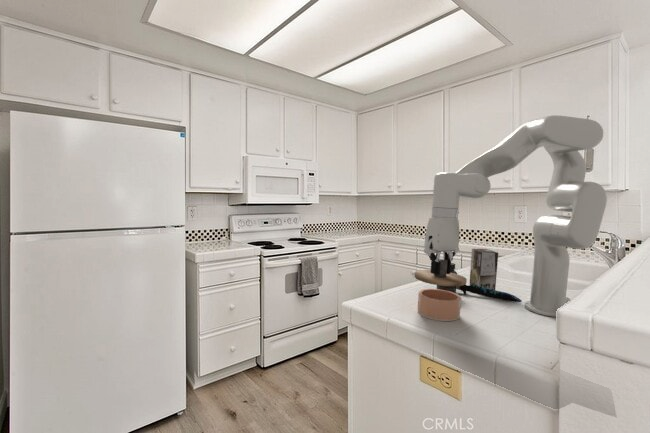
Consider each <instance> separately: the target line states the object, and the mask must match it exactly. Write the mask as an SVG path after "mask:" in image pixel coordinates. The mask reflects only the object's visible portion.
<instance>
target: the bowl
mask: <svg viewBox="0 0 650 433" xmlns="http://www.w3.org/2000/svg"><path fill="white" fill-rule="evenodd" d="M417 295H418V298H417V299H418V300H417V312H418V314H419V315H421V316H422V317H423V318H426V319H430V320H433V321H437V322H454V321H457V320H459V319H460V316H461V305H462V297H461V296H460V295H459V294H458V293H457V292H456V293H453V292H450V291H446V290H440V289H437V288H425V289H421V290H419V291H418V294H417Z"/></svg>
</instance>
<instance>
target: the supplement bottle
mask: <svg viewBox="0 0 650 433" xmlns="http://www.w3.org/2000/svg"><path fill="white" fill-rule="evenodd" d="M450 273H455V274H458V273H457V271H456V264H455V263H454V262H451V269H450ZM456 287H457V286H440V285H436V289H440V290H446V291H450V292H453V293H456V294H457V289H456Z"/></svg>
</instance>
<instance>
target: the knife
mask: <svg viewBox="0 0 650 433" xmlns="http://www.w3.org/2000/svg"><path fill="white" fill-rule="evenodd" d="M469 285H470V284H469ZM469 285H468V284H465V285H463V286H457V287H456V290H459V291H461V292H463V296H465V295H467V292H468V293H472V294H474V295H477V296H483V297H485V298H486V297H487V298H491V299H496V300H499V301H506V302H511V303H522V299H520V298H519V297H518V296H516V295H514V294H511V293H509V292H504V291H499V290H496V289H495V290H491V289H486V288H483V287H480V286H477V285H475V284H474V283H472V285H470V286H469Z"/></svg>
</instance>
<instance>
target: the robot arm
mask: <svg viewBox="0 0 650 433" xmlns="http://www.w3.org/2000/svg"><path fill="white" fill-rule="evenodd" d="M603 138H604V128H603V126H602V125H601V124H600V123H599V122H598V121H596V120H593V119H589V118H582V117H575V116H566V115H554V114H553V115H549V116H544V117H540V118H536V119H532V120H528V121H527V122H525V123H523V124H521V125H520V126H519V127H518V128H516V129H515V130H514V131H513V132H511V133H510V134H509V135H508V136H507V137H505V138H504V139H503V140H502V141H501V142H499V143H498V144H497V145H496V146H495V147H493V148H491V149H489V150H488V151H486V152H484V153H482V154H481V155H479V156H478V157H476V158H475V159H472V160H471V161H469V162H467V163H466V164H465V165H464V166H462V167H461V168H460V169H459V170H457V171H456V172H438V173H436V174H435V175H434V179H433V192H432V194H433V195H432V203H431V204H432V206H431V217H429V219H428V222H427V225H426V226H427V227H426V231H425V236H424V249H423V253H424V254H426V255H427V257H429V260H430V262H431V263H430V270H431V273H433V274H436V275H439V274H440V265H441V263H440V262H439V259H441V253H442V257H443V258H442V259H445V260H448V262H447V274H450V269H451V263H452V262H453V260H454V257H455V256H456V254H457V253H459V252H460V248H459V243H460V223H459V222H460V220H459V214H460V211H459V207H460V199H474V200H475V199H480V198H483V197H485V196H486V195H487V194H488V193H490V190H491V185H492V184H491V180H490V179H489V178H490V177H492V176H495V175H498V174H501V173H506V172H508V171H510V170H512V169H515V168H516V167H517V166H518V165H519V164H521V163H522V162H523V161H524V160H526V159H527V158H528V157H529V156H530V155H531V154H533V153H534V152H535V151H536V150H537V149H540V148H542V147H543V149H544V150H545V151H546V153H547V154H548V155H549V156H550V158H551V160H552V163H553V171H552V175H551V179H550V183H549V186H548V190H547V194H546V200H545V202H546V205H547V207H548V208H549V209H551V210H553V211H556V212H563V213H571V216H570V215H562V214H561V215H560V214H545V215H542V216H540V217H538V218H537V219H536V220H535V222H534V223H533V227H532V234H533V236H532V237H533V242H534V253H533V254H534V255H533V256H534V257H533V267H532V275H531V277H532V278H531V286H530V287H531V289H530V298H529V300H528V301H525V302H524V305H523V306H524V308H525V309H526V310H528V311H531V312H533V313H536V314H538V315H542V316H546V317H547V316H548V317H552V318H557V317H556V311H557V309H558V308H560V307H561V306H563V305H564V304H565V303H566V304H568V303H567V302H568V301H570V302H571V298H570V297H568V296H567V290H568V289H567V288H568V279H569V270H570V254H569V251H568V249H576V250H585V249H589V248H590V247H591V246H592V245H594V243H595V242H596V240H597V237H598V235H599V232H600V228H601V226H602V221H603V217H604V215H605V211H606V206H607V202H608V200H607V199H608V197H607V192H606V190H605V188H604V187H603V185H601V184H599V183H597V182H595V181H585V180H586V179H585V178H586V173H587V163H586V161H585V159H584V157H583V155H582V154H581V153H580V151H587V150H591V149H593V148H595V147H597V146H598V145H599V144H600V143H601V142H602V140H603ZM567 248H568V249H567ZM435 253H436V254H435ZM566 304H565V305H566Z"/></svg>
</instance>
